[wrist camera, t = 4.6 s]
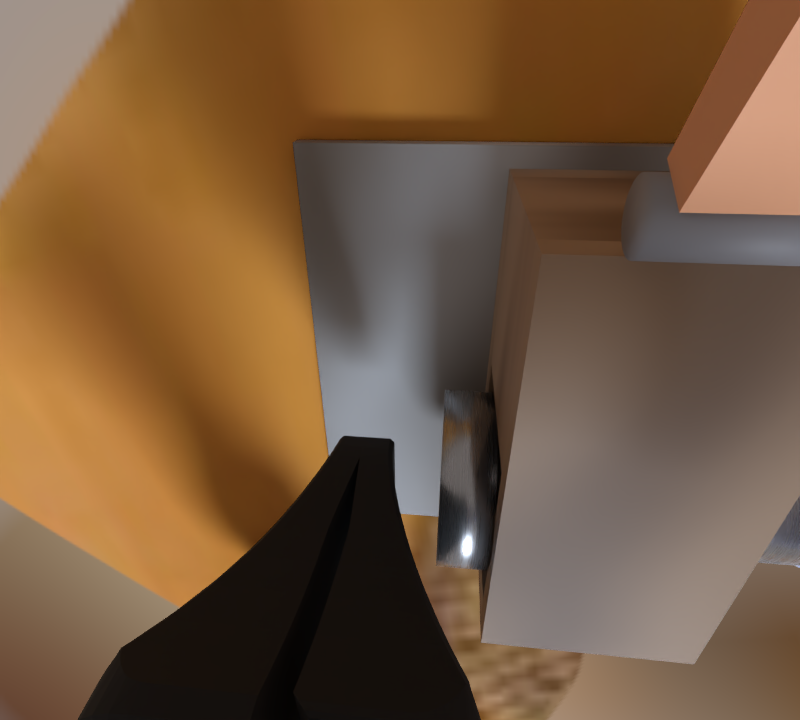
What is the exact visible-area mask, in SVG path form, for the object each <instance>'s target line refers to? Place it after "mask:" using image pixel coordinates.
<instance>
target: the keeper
mask: <svg viewBox="0 0 800 720" xmlns="http://www.w3.org/2000/svg"><path fill="white" fill-rule="evenodd" d="M667 160H668V165H669V169H670V172H642V173H640V174H639V175H638V176H637V177H636V179H635V180H634V182H633V184H632V185H631V188H630V190H629V193H628V195H627V199H626V202H625V206H624V211H623V217H622V225H621V243H622V249H623V253H624V255H625V257H626V259H627V260H629V261H646V262H678V263H710V264H742V265H773V266H800V0H749V1H748V2H747V4H746V6H745V8H744V10H743V12H742V14H741V16H740V18H739V20H738V22H737V24H736V26H735V28H734V30H733V32H732V33H731V35H730V37H729V39H728V41H727V43H726V45H725V47H724V49H723V51H722V53H721V55H720V57H719V59H718V61H717V63H716V65H715V66H714V68H713V70H712V72H711V74H710V76H709V78H708V80H707V82H706V84H705V86H704V88H703V90H702V92H701V94H700V96H699V97H698V99H697V101H696V103H695V105H694V107H693V109H692V111H691V113H690V115H689V117H688V119H687V121H686V123H685V125H684V127H683V129H682V130H681V132H680V134H679V136H678V138H677V140H676V142H675V144H674V146H673V148H672V150H671V152H670V154H669V156H668V158H667Z"/></svg>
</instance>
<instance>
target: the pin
mask: <svg viewBox="0 0 800 720" xmlns="http://www.w3.org/2000/svg"><path fill="white" fill-rule="evenodd" d="M501 475H502V471H501V461H500V450H499V440H498V429H497V420H496V408H495V401H494V396H493V394H492V393H491V392H476V391H458V390H445V396H444V414H443V433H442V453H441V472H440V492H439V512H438V533H437V554H436V566H442V567H454V568H465V569H476V570H487V569H488V567H489V564H490V559H491V553H492V546H493V538H494V527H495V516H496V509H497V502H498V495H499V489H500V482H501ZM758 562H761V563H773V564H785V565H797V566H800V496H799V497H798V499H797V501H796V502H795V504H794V505H793V507H792V508H791V510H790V512H789V513H788V515H787V516H786V518H785V520H784V521H783V523H782V524H781V526H780V528H779V529H778V531H777V532H776V534H775V536H774V537H773V539H772V540H771V542H770V544H769V545H768V547H767V548H766V550H765V552H764V553H763V555H762V556H761V558H760V560H759V561H758Z"/></svg>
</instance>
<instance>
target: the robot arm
mask: <svg viewBox="0 0 800 720" xmlns="http://www.w3.org/2000/svg"><path fill="white" fill-rule="evenodd" d="M795 566H797V565H795ZM797 567H799V568H800V566H797ZM78 720H481V719H480V716H479V712H478V709H477V706H476V703H475V700H474V697H473V694H472V691H471V688H470V684H469V681H468V679H467V677H466V675H465V673H464V672H463V670H462V668H461V666H460V664H459V662H458V660H457V658H456V656H455V655H454V653H453V651H452V649H451V647H450V645H449V643H448V641H447V639H446V636H445V634H444V632H443V630H442V628H441V626H440V624H439V622H438V619H437V617H436V615H435V612H434V610H433V608H432V605H431V603H430V601H429V598H428V596H427V594H426V591H425V589H424V586H423V584H422V581H421V578H420V576H419V573H418V570H417V568H416V565H415V562H414V559H413V556H412V553H411V550H410V547H409V543H408V540H407V537H406V533H405V529H404V525H403V522H402V518H401V513H400V509H399V504H398V499H397V494H396V488H395V443H394V441H392V440H391V439H389V438H373V437H358V436H343V437H342V438H340V440H339V441H338V443H337V445H336V446H335V448H334V449H333V451H332V453H331V454H330V456H329V457H328V458H327V460H326V461H325V463H324V464H323V466H322V467H321V468H320V470H319V471H318V473H317V474H316V475H315V477H314V478H313V479H312V480H311V482H310V483H309V484H308V486H307V487H306V488H305V490H304V491H303V492H302V493H301V495H300V496H299V497H298V498H297V500H296V501H295V502H294V503H293V504H292V505H291V506H290V508H289V509H288V510H287V511H286V512H285V513H284V515H283V516H282V517H281V518H280V519H279V520H278V521H277V523H276V524H275V525H274V526H273V527H272V528H271V529H270V530H269V531H268V532H267V533H266V534H265V535H264V536H263V537H262V538H261V539H260V540H259V541H258V542H257V543H256V544H255V545H254V546H253V547H252V548H251V549H250V550H249V551H248V552H247V553H246V554H245V555H244V556H242V557H241V558H240V559H239V560H238V561H237V562H236V563H235V564H234V565H232V566H231V567H230V568H229V569H228V570H227V571H226V572H225V573H223V574H222V575H221V576H220V577H219V578H218V579H216V580H215V581H214V582H213V583H211V584H210V585H209V586H208V587H206V588H205V589H204V590H202V591H201V592H200V593H199V594H197V595H196V596H195V597H193V598H192V599H191V600H190V601H188V602H187V603H186V604H184V605H183V606H182V607H181V608H179V609H178V610H177V611H175V612H174V613H172V614H171V615H170V616H168V617H167V618H165V619H164V620H163V621H161V622H159V623H158V624H156V625H155V626H153V627H152V628H150V629H149V630H147V631H146V632H144V633H143V634H142V635H140V636H139V637H137V638H136V639H134V640H133V641H131V642H130V643H128V644H126V645H125V646H123V647H122V648H121V649H120V650H119V652H118V654H117V655H116V657H115V658H114V660H113V661H112V662H111V664H110V665H109V667H108V668H107V669H106V671H105V673H104V674H103V676H102V677H101V679H100V681H99V682H98V684H97V686H96V688H95V690H94V691H93V693H92V695H91V697H90V698H89V700H88V702H87V704H86V706H85V707H84V709H83V711H82V713H81V714H80V716H79V718H78Z"/></svg>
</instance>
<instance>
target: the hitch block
mask: <svg viewBox="0 0 800 720" xmlns="http://www.w3.org/2000/svg"><path fill="white" fill-rule="evenodd" d="M673 146H674V144H658V143H564V142H470V141H376V140H296V141H295V142H293V149H294V158H295V166H296V175H297V184H298V192H299V201H300V210H301V218H302V227H303V236H304V244H305V253H306V262H307V271H308V279H309V288H310V297H311V305H312V314H313V323H314V331H315V340H316V349H317V357H318V366H319V375H320V383H321V392H322V401H323V409H324V418H325V427H326V436H327V444H328V453H329V456H330V454H331V453H332V451H333V449H334V448H335V446H336V445H337V443H338V441H339V440H340V438H342V437H343V436H358V437H373V438H389V439H391V440H392V441H394V443H395V488H396V494H397V499H398V504H399V509H400V513H401V514H414V515H426V516H438V512H439V492H440V472H441V453H442V433H443V414H444V396H445V390H458V391H476V392H491V393H492V394H493V396H494V401H495V408H496V420H497V429H498V440H499V450H500V461H501V471H502V475H501V482H500V489H499V495H498V502H497V509H496V516H495V527H494V538H493V546H492V553H491V559H490V564H489V567H488V569H487V570H479V594H480V624H481V643H491V644H501V645H511V646H520V647H530V648H540V649H550V650H560V651H570V652H579V653H589V654H599V655H609V656H619V657H629V658H639V659H649V660H659V661H668V662H678V663H688V664H694V663H695V662H696V660H697V659H698V657H699V655H700V654H701V652H702V650H703V649H704V647H705V646H706V644H707V643H708V641H709V639H710V638H711V636H712V635H713V633H714V631H715V630H716V628H717V627H718V625H719V623H720V622H721V620H722V619H723V617H724V615H725V614H726V612H727V611H728V609H729V607H730V606H731V604H732V603H733V601H734V600H735V598H736V596H737V595H738V593H739V591H740V590H741V588H742V586H743V585H744V584H745V582H746V580H747V579H748V577H749V575H750V574H751V572H752V571H753V569H754V567H755V566H756V564H757V563H758V561H759V560H760V558H761V556H762V555H763V553H764V552H765V550H766V548H767V547H768V545H769V544H770V542H771V540H772V539H773V537H774V536H775V534H776V532H777V531H778V529H779V528H780V526H781V524H782V523H783V521H784V520H785V518H786V516H787V515H788V513H789V512H790V510H791V508H792V507H793V505H794V504H795V502H796V501H797V499H798V497H799V496H800V266H773V265H742V264H710V263H678V262H646V261H629V260H627V259H626V257H625V255H624V253H623V249H622V243H621V225H622V217H623V211H624V206H625V202H626V199H627V195H628V193H629V190H630V188H631V185H632V184H633V182H634V180H635V179H636V177H637V176H638V175H639V174H640V173H642V172H670V169H669V165H668V160H667V158H668V156H669V154H670V152H671V150H672V148H673Z"/></svg>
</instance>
